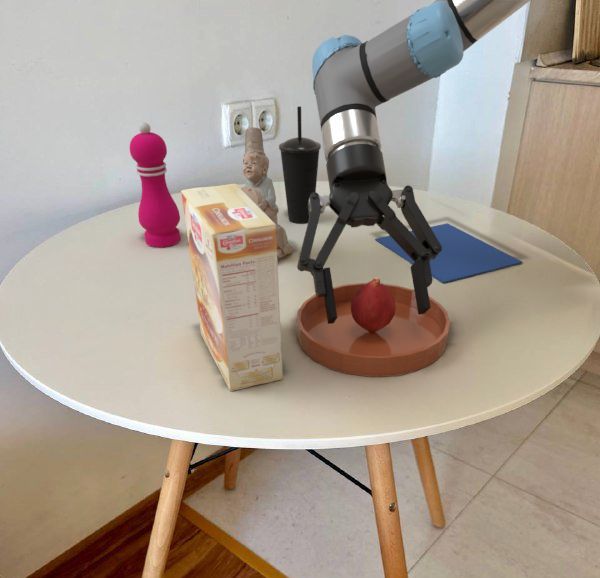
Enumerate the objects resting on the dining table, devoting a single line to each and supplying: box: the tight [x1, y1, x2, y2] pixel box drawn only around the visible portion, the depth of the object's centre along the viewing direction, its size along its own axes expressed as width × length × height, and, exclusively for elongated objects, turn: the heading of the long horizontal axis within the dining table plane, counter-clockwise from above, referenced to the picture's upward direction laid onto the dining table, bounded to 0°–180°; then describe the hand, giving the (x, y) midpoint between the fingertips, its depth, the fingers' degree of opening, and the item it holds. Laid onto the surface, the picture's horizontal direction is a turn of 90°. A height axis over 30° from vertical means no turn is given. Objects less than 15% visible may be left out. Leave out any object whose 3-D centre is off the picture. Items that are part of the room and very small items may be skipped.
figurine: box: [240, 127, 293, 260], centre depth 96 cm, size 9×8×20 cm
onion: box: [351, 276, 396, 333], centre depth 77 cm, size 6×6×8 cm
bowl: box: [296, 282, 451, 377], centre depth 79 cm, size 20×20×3 cm
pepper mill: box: [129, 122, 181, 248], centre depth 102 cm, size 7×7×20 cm
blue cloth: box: [374, 222, 524, 284], centre depth 102 cm, size 20×16×1 cm
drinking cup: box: [278, 106, 322, 224], centre depth 109 cm, size 8×8×20 cm
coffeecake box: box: [180, 183, 284, 392], centre depth 70 cm, size 15×7×20 cm, turn 21°
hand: (379, 316), depth 75 cm, fingers open, 11 cm apart
